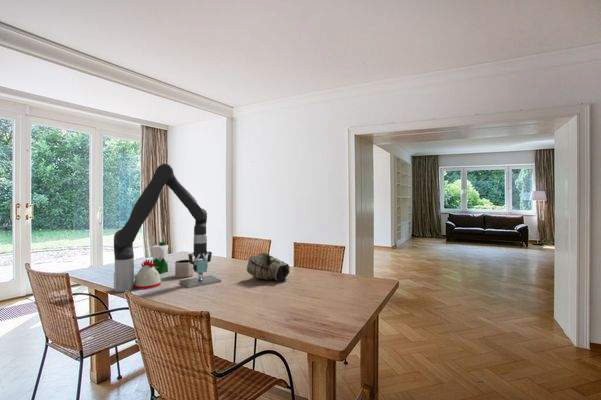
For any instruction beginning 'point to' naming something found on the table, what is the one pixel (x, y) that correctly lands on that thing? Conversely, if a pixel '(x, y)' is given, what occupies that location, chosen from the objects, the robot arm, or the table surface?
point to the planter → (183, 269)
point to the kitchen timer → (147, 276)
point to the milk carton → (160, 257)
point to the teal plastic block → (201, 266)
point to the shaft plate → (199, 281)
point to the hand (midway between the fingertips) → (200, 269)
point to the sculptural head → (267, 267)
